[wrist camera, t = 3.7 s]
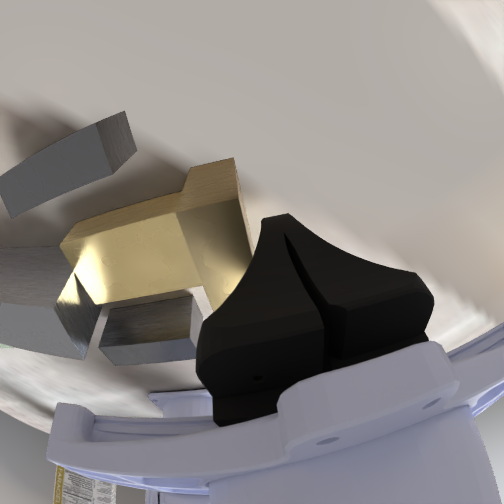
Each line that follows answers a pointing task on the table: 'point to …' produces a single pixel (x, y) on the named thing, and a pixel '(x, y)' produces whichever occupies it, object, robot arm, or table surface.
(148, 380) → the table surface
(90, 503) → the juice carton
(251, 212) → the table surface
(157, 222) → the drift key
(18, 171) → the socket
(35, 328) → the matte gray brick
